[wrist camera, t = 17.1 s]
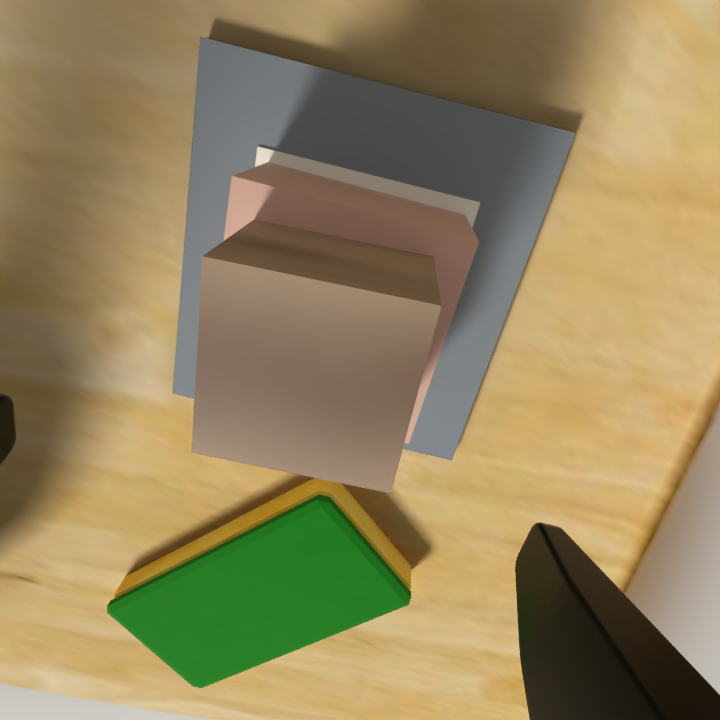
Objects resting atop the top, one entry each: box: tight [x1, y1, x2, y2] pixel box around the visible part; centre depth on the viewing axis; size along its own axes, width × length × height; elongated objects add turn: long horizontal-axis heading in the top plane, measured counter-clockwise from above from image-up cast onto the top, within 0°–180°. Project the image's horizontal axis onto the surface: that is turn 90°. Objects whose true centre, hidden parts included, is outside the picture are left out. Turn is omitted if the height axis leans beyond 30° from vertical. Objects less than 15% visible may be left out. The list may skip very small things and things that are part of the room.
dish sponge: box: [107, 478, 411, 688], centre depth 26 cm, size 7×14×2 cm, turn 125°
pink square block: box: [224, 162, 479, 444], centre depth 17 cm, size 7×7×4 cm
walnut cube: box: [192, 219, 442, 493], centre depth 14 cm, size 5×5×4 cm
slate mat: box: [173, 37, 576, 460], centre depth 19 cm, size 13×12×1 cm
